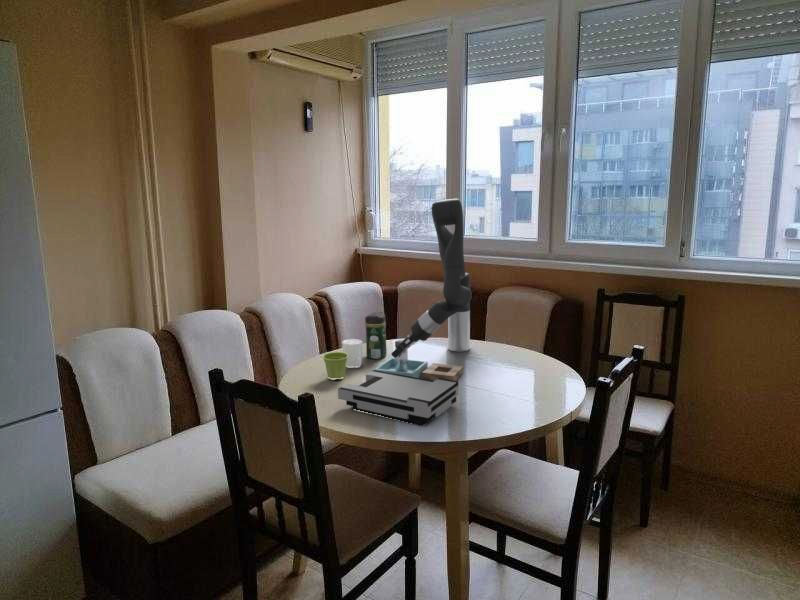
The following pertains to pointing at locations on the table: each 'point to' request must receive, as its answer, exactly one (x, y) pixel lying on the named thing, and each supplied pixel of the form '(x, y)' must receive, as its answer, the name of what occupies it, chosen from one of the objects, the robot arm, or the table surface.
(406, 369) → the bottle with dark cap
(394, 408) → the game console
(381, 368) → the parts tray
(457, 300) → the robot arm
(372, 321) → the coffee jar
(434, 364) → the brown square frame
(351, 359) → the white cup
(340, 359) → the plant pot
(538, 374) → the table surface
